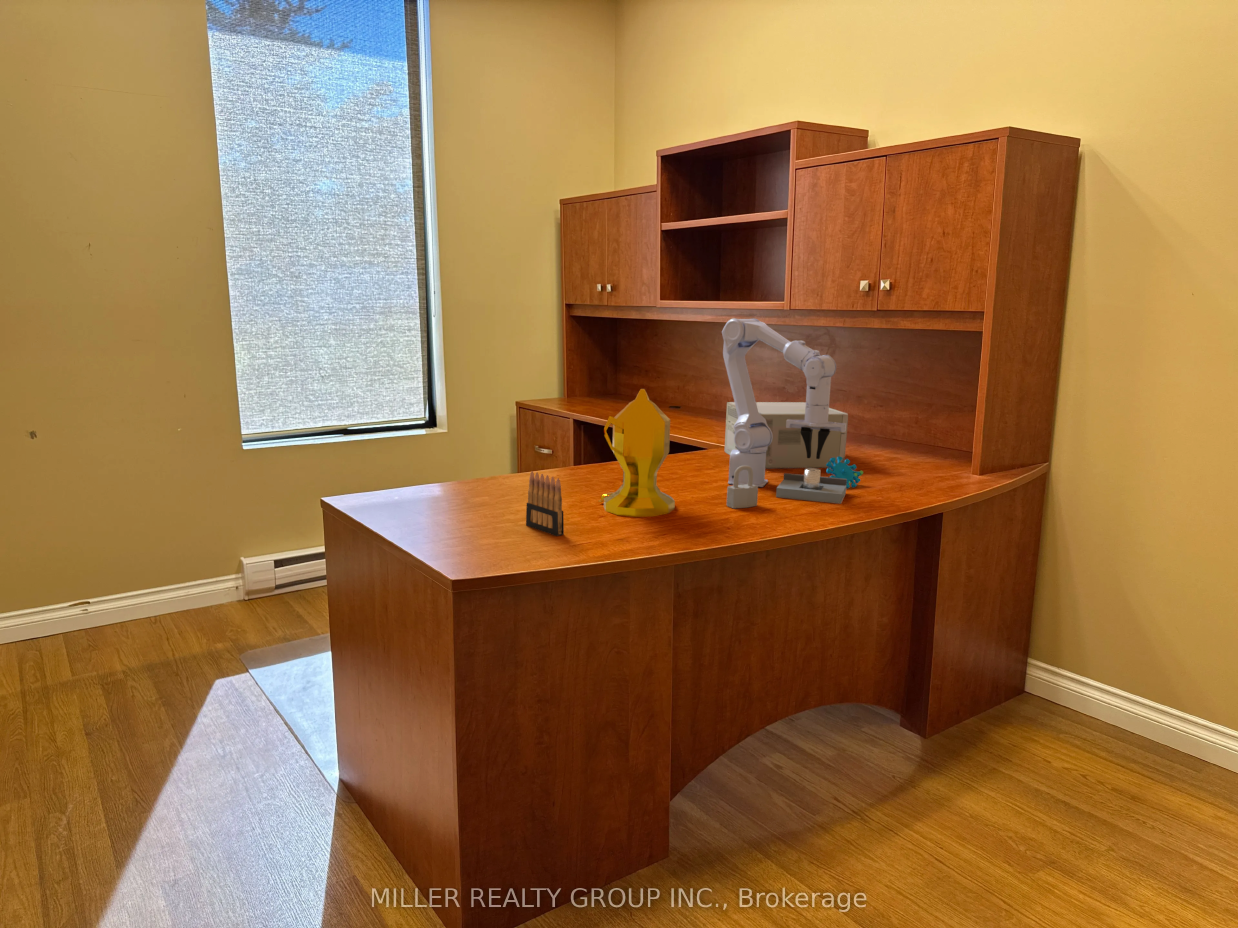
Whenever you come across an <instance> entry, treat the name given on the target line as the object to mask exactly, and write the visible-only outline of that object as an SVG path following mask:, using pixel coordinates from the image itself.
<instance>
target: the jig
mask: <svg viewBox="0 0 1238 928" xmlns="http://www.w3.org/2000/svg"><path fill="white" fill-rule="evenodd" d="M803 483H804V474H799V473H790V472H789V473H787V472H784V473H783V480H781V482H780V483H779V484H778V485H777V487H776V490H775V491H776V493H775V497H776V498H780V499H781V498H782V499H790V500H792V499H793V500H800V501H801V500H803V501H811V502H819V503H820V502H821V503H830V504H837V505H838V504H842V503H843V500H844V498H845V496H846V493H847V489H846V484H847V479H842V478H832V477H830V476H821V475H820V486H819V490H813V489H803Z"/></svg>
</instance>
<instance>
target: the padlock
mask: <svg viewBox="0 0 1238 928" xmlns="http://www.w3.org/2000/svg"><path fill="white" fill-rule="evenodd" d="M742 470H747V471H748V484H744V485H743V484H742V485H738V478H739V473H740V471H742ZM752 484H753V471H752V469H751V467H749V466H746V465H744V466H740V467H738V468H737V469H736V470H735V473H734V483H733V484H732V485H728V486H727V488H726V490H727V492H726V506H727V507H729V508H732V509H744V508H745V509H746V508H747V509H748V508H751V507H757V506H758V498H759V496H758V495H759V494H758V493H759V487H758V486H755V485H752Z"/></svg>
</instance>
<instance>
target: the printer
mask: <svg viewBox="0 0 1238 928" xmlns="http://www.w3.org/2000/svg"><path fill="white" fill-rule="evenodd" d="M756 404H757V409H758V413H759V414H760V415H761V416H763V417H764V418H765V419H766V423H767V425H768V427H769V428H770V429H771V431H772V434H773V439H772V442H771V444H770V445H769V446H768V448H767V451H766V465H765V470H767V469H771V470H772V469H805V468H816V469H828V468H830V467H828V466H826V464H827V463H828V462H829V461H830V459H831V458H832V457H835V458H836V460H835V462H836V463H838V461H837V457H838V456H840V457H842V458H843V459H842V460H841V463H844V461H845V460H846V451H847V449H846V448H847V436H848V422H849V414H848V412H845V411H841V410H837V409H835V408H831V407H829V413H828V422H836V423H846V431H845V432H840V431H830V433H829V435H828V437H827V439H826V441H825V443H824V445H823V448H822V451H821V455H820V459H816V455H817V448H818V432H819V431H820V430H816V429H813V432H812V441H811V457H810V458H807V452H806V447H805V443H804V440H803V438H802V435H801V432H800V431H801V428H786V420H787V419H791V420H805V406H806V401H805V402H803V401H801V402H799V401H798V402H797V401H796V402H794V401H793V402H791V401H785V402H784V401H783V402H779V401H777V402H775V401H773V402H771V401H770V402H769V401H765V402H764V401H762V402H761V401H756ZM725 413H726V416H725V430H724V431H725V434H724V453H726V454H727V455H729V456H730V455H731V451H732V450H738V448H737V447H736V445H735V442H734V435H735V430H734V424H735V423H736V421H737V420H738V414H737V410H736V406H735V402H734V401H729V402H728V401H727V402H726V412H725ZM749 427H751V426H749ZM807 427H813V426H807ZM820 428H823V427H820ZM830 462H831V461H830ZM831 463H832V462H831ZM832 465H833V463H832ZM833 466H834V465H833ZM830 469H831V468H830Z"/></svg>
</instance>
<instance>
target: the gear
mask: <svg viewBox="0 0 1238 928" xmlns="http://www.w3.org/2000/svg"><path fill="white" fill-rule="evenodd" d="M842 459H843V458H842V457H840V456H838V457H837V461H838V463H836V462H835V460H836V458H835V457H832V458H831V459H830V461H831V462H832V463H833V465H834V466H833V465H832V463H831V462H830V461H829V462H828V463H827V464H826V466H828V467H830V468H826V474H831V475H830V476H829V477H832V478H842V479H847V484H846V490H848V489H850V487H851V488H856V487H857V486H858V484H859V483H860V482H861V478H859V477H861V476H863V474H864V471H863V470H860V471H857V470H856V469H857V465H856V464H855V463H854V464H852V465H849V464H850V463H851V460H850V459H849V458H845V461H844V463H841V460H842Z"/></svg>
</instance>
